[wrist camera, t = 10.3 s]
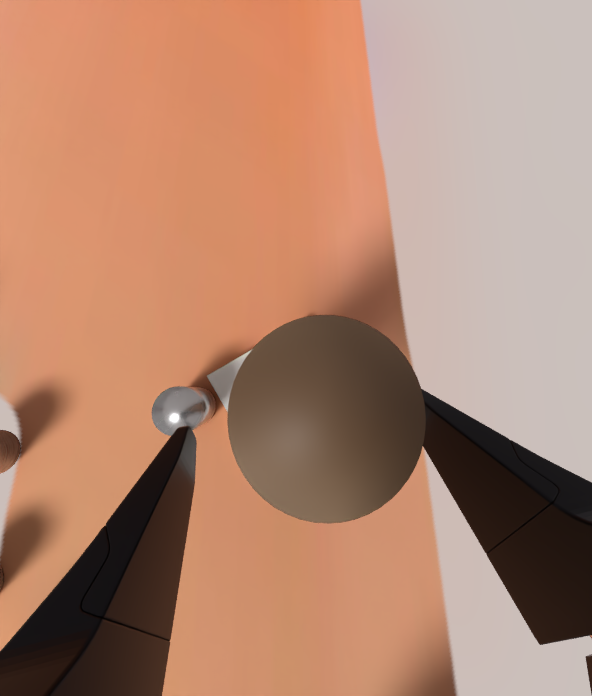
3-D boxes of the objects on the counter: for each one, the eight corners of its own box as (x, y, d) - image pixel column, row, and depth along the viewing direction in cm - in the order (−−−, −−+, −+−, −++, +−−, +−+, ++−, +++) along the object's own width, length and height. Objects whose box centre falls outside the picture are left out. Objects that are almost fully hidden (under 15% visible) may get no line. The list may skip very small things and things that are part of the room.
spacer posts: (275, 503, 19) (277, 534, 15) (-3, 704, 15) (-98, 814, 11) (176, 332, 20) (154, 318, 16) (-100, 480, 16) (-215, 508, 13)
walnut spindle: (317, 421, 19) (441, 507, 5) (260, 427, 18) (232, 539, 5) (312, 365, 20) (409, 310, 6) (256, 369, 19) (223, 320, 5)
